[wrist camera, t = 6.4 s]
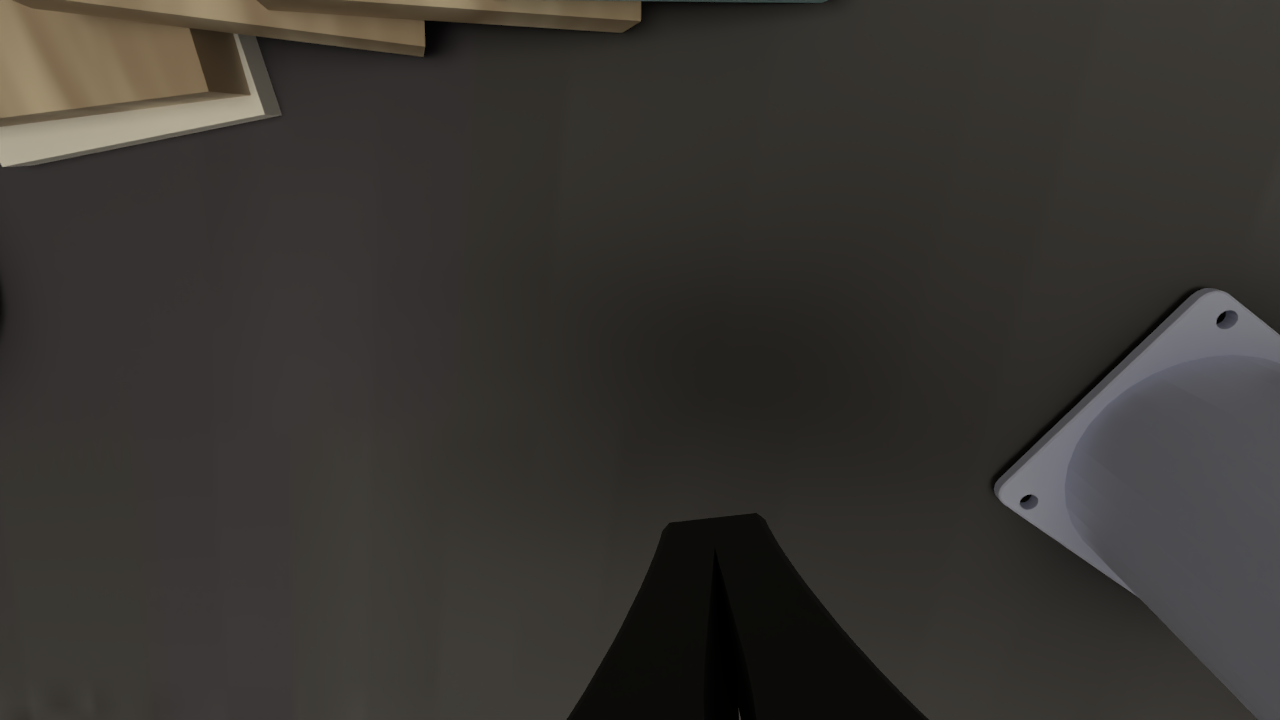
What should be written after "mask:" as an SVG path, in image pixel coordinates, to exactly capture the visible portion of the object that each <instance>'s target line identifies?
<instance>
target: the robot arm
mask: <svg viewBox="0 0 1280 720" xmlns="http://www.w3.org/2000/svg"><path fill="white" fill-rule="evenodd" d="M1224 311H1226V317H1225V318H1224V320H1223V321H1222V322H1220V323H1219V324H1216V321H1217V318H1218V316H1219V315H1220V314H1221V313H1223V312H1224ZM994 492H995V495H996V496H997V497H998V499H999V500H1000V501H1001V502H1002V503H1003V504H1004V505H1006V506H1007V507H1008V508H1010V509H1011V510H1013V511H1014V512H1016V513H1017V514H1019V515H1020V516H1021V517H1023V518H1024V519H1026V520H1027V521H1029V522H1030V523H1032V524H1033V525H1034V526H1036V527H1037V528H1039V529H1040V530H1042V531H1043V532H1045V533H1046V534H1047V535H1049V536H1050V537H1052V538H1053V539H1055V540H1056V541H1058V542H1059V543H1060V544H1062V545H1063V546H1065V547H1066V548H1068V549H1069V550H1071V551H1072V552H1073V553H1075V554H1076V555H1078V556H1079V557H1081V558H1082V559H1084V560H1085V561H1087V562H1088V563H1089V564H1091V565H1092V566H1094V567H1095V568H1097V569H1098V570H1100V571H1101V572H1102V573H1104V574H1105V575H1107V576H1108V577H1110V578H1111V579H1113V580H1114V581H1115V582H1117V583H1118V584H1120V585H1121V586H1123V587H1124V588H1126V589H1127V590H1128V591H1130V592H1131V593H1133V594H1134V595H1136V596H1137V597H1139V598H1140V599H1141V600H1142V601H1143V602H1144V603H1145V604H1146V605H1147V606H1148V608H1149V609H1150V610H1151V611H1152V612H1153V613H1154V614H1155V615H1156V616H1157V617H1158V618H1159V619H1160V620H1161V621H1162V622H1163V623H1164V624H1165V625H1166V626H1167V627H1168V628H1169V629H1170V630H1171V631H1172V632H1173V633H1174V634H1175V635H1176V636H1177V637H1178V638H1179V639H1180V640H1181V641H1182V642H1183V643H1184V644H1185V645H1186V646H1187V647H1188V648H1189V649H1190V650H1191V652H1192V653H1193V654H1194V655H1195V656H1196V657H1197V658H1198V659H1199V660H1200V661H1201V662H1202V663H1203V664H1204V665H1205V666H1206V667H1207V668H1208V669H1209V670H1210V671H1211V672H1212V673H1213V674H1214V675H1215V676H1216V677H1217V678H1218V679H1219V680H1220V681H1221V682H1222V683H1223V684H1224V685H1225V686H1226V687H1227V688H1228V689H1229V690H1230V691H1231V692H1232V693H1233V694H1234V696H1235V697H1236V698H1237V699H1238V700H1239V701H1240V702H1241V703H1242V704H1243V705H1244V706H1245V707H1246V708H1247V709H1248V710H1249V711H1250V712H1251V713H1252V714H1253V715H1254V716H1255V717H1256V718H1257V719H1258V720H1280V335H1279V334H1278V333H1277V332H1276V331H1274V330H1273V329H1272V328H1271V327H1269V326H1268V325H1267V324H1266V323H1264V322H1263V321H1262V320H1261V319H1259V318H1258V317H1257V316H1256V315H1254V314H1253V313H1252V312H1251V311H1249V310H1248V309H1247V308H1246V307H1244V306H1243V305H1242V304H1241V303H1239V302H1238V301H1237V300H1236V299H1234V298H1233V297H1232V296H1231V295H1229V294H1228V293H1226V292H1224V291H1221V290H1218V289H1214V288H1204V289H1201V290H1198V291H1197V292H1195V293H1194V294H1192V295H1191V296H1190V297H1189V298H1188V299H1187V300H1186V301H1185V302H1183V303H1182V304H1181V305H1180V306H1179V307H1178V308H1177V309H1176V310H1175V311H1174V312H1173V313H1172V314H1171V315H1170V316H1169V317H1168V318H1167V319H1166V320H1165V321H1164V322H1163V323H1161V324H1160V325H1159V326H1158V327H1157V328H1156V329H1155V330H1154V331H1153V332H1152V333H1151V334H1150V335H1149V336H1148V337H1147V338H1146V339H1145V340H1144V341H1143V342H1142V343H1141V344H1139V345H1138V346H1137V347H1136V348H1135V349H1134V350H1133V351H1132V352H1131V353H1130V354H1129V355H1128V356H1127V357H1126V358H1125V359H1124V360H1123V361H1122V362H1121V363H1120V364H1119V365H1118V366H1116V367H1115V368H1114V369H1113V370H1112V371H1111V372H1110V373H1109V374H1108V375H1107V376H1106V377H1105V378H1104V379H1103V380H1102V381H1101V382H1100V383H1099V384H1098V385H1097V386H1096V387H1094V388H1093V389H1092V390H1091V391H1090V392H1089V393H1088V394H1087V395H1086V396H1085V397H1084V398H1083V399H1082V400H1081V401H1080V402H1079V403H1078V404H1077V405H1076V406H1075V407H1074V408H1072V409H1071V410H1070V411H1069V412H1068V413H1067V414H1066V415H1065V416H1064V417H1063V418H1062V419H1061V420H1060V421H1059V422H1058V423H1057V424H1056V425H1055V426H1054V427H1053V428H1052V429H1051V430H1049V431H1048V432H1047V433H1046V434H1045V435H1044V436H1043V437H1042V438H1041V439H1040V440H1039V441H1038V442H1037V443H1036V444H1035V445H1034V446H1033V447H1032V448H1031V449H1030V450H1029V451H1027V452H1026V453H1025V454H1024V455H1023V456H1022V457H1021V458H1020V459H1019V460H1018V461H1017V462H1016V463H1015V464H1014V465H1013V466H1012V467H1011V468H1010V469H1009V470H1008V471H1007V472H1005V473H1004V474H1003V475H1002V476H1001V477H1000V478H999V479H998V481H997V482H996V483H995V487H994ZM1026 495H1031V497H1030V499H1029V500H1027V501H1026V502H1021V503H1020V500H1021V499H1022V497H1024V496H1026ZM738 707H739V710H738ZM739 712H740V716H741V720H929V719H928V718H927V717H925V716H924V715H923V714H922V713H921V712H920V711H919V710H918V709H917V708H916V707H915V706H914V705H913V704H912V703H911V702H910V701H909V700H908V699H907V698H906V697H905V696H904V695H903V694H902V693H901V692H900V691H899V690H898V689H897V688H896V687H895V686H894V685H893V684H892V683H891V682H890V681H889V679H888V678H887V677H886V676H885V675H884V674H883V673H882V672H881V671H880V670H879V669H878V668H877V667H876V666H875V665H874V663H873V662H872V661H871V660H870V659H869V658H868V657H867V656H866V655H865V654H864V652H863V651H862V650H861V649H860V648H859V647H858V646H857V645H856V644H855V643H854V642H853V640H852V639H851V638H850V637H849V636H848V635H847V633H846V632H845V631H844V630H843V629H842V628H841V626H840V625H839V624H838V623H837V622H836V621H835V619H834V618H833V617H832V616H831V614H830V613H829V612H828V611H827V609H826V608H825V607H824V606H823V604H822V603H821V602H820V601H819V599H818V598H817V597H816V596H815V594H814V593H813V592H812V591H811V589H810V588H809V587H808V586H807V584H806V583H805V582H804V580H803V579H802V578H801V576H800V575H799V573H798V572H797V571H796V569H795V568H794V566H793V565H792V564H791V562H790V561H789V559H788V558H787V556H786V555H785V553H784V552H783V550H782V549H781V547H780V546H779V544H778V543H777V541H776V539H775V538H774V536H773V534H772V532H771V530H770V529H769V527H768V525H767V523H766V520H765V519H764V518H762V517H761V516H760V515H758V514H757V513H753V514H744V515H735V516H726V517H717V518H708V519H700V520H691V521H682V522H673V523H669V524H668V525H667V526H666V528H665V529H664V530H663V531H662V535H661V538H660V541H659V544H658V547H657V550H656V552H655V555H654V558H653V560H652V562H651V565H650V567H649V570H648V572H647V574H646V576H645V579H644V581H643V583H642V586H641V588H640V590H639V592H638V594H637V596H636V598H635V600H634V602H633V604H632V606H631V608H630V610H629V612H628V614H627V616H626V618H625V620H624V622H623V624H622V626H621V628H620V630H619V632H618V634H617V636H616V638H615V640H614V642H613V643H612V645H611V647H610V649H609V650H608V652H607V654H606V655H605V657H604V659H603V661H602V662H601V664H600V666H599V668H598V669H597V671H596V673H595V675H594V676H593V678H592V680H591V681H590V683H589V685H588V687H587V688H586V690H585V692H584V693H583V695H582V697H581V698H580V700H579V701H578V703H577V704H576V706H575V708H574V709H573V711H572V712H571V714H570V715H569V717H568V718H567V720H739Z"/></svg>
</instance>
